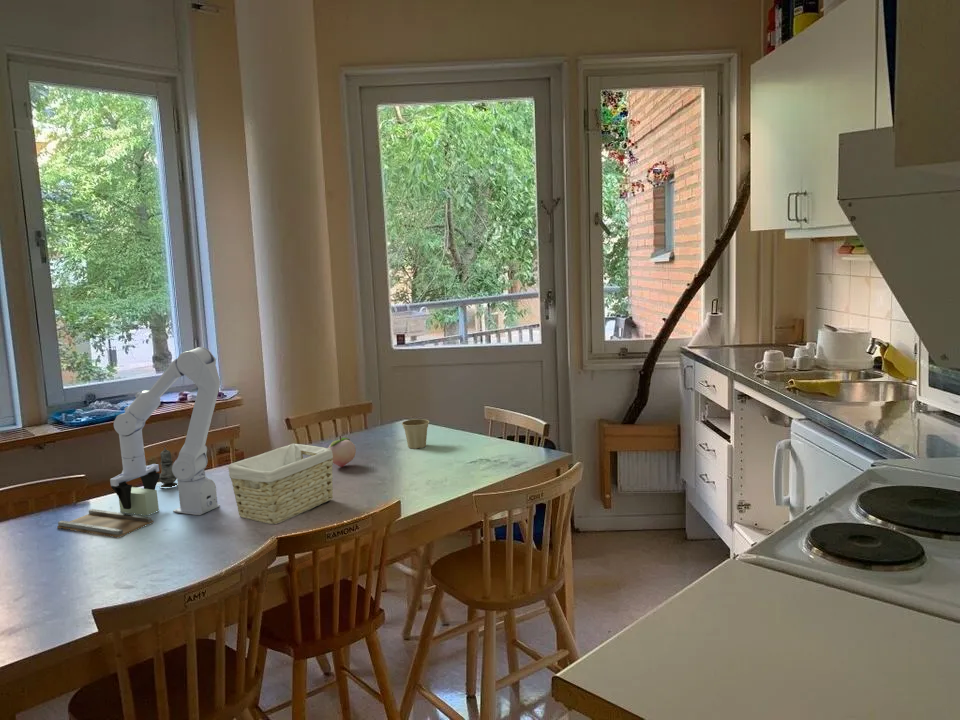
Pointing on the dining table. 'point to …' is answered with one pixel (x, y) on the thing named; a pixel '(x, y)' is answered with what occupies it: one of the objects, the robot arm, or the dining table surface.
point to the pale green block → (142, 501)
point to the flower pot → (416, 432)
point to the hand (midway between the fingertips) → (138, 504)
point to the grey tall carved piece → (167, 470)
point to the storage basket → (282, 482)
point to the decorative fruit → (342, 451)
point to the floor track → (106, 523)
